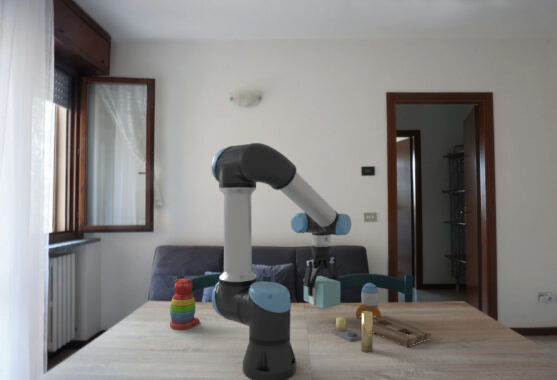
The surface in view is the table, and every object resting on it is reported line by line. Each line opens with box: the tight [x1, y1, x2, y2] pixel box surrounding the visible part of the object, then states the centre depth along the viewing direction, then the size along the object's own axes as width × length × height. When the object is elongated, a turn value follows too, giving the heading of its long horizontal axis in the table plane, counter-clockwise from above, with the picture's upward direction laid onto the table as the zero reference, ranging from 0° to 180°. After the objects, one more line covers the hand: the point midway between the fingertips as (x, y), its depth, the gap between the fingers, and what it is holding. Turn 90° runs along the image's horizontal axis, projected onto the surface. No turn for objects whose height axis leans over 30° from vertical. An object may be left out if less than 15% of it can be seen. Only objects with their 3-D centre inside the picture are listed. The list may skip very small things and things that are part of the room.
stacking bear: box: [169, 278, 201, 331], centre depth 136 cm, size 11×10×18 cm
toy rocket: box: [355, 282, 382, 319], centre depth 145 cm, size 10×11×15 cm
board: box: [373, 316, 432, 347], centre depth 128 cm, size 12×20×2 cm, turn 31°
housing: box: [303, 275, 341, 309], centre depth 143 cm, size 9×13×9 cm
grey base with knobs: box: [331, 316, 361, 342], centre depth 127 cm, size 6×10×5 cm, turn 31°
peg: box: [360, 311, 374, 354], centre depth 114 cm, size 4×4×12 cm
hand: (321, 302), depth 143 cm, fingers closed on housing, 9 cm apart
